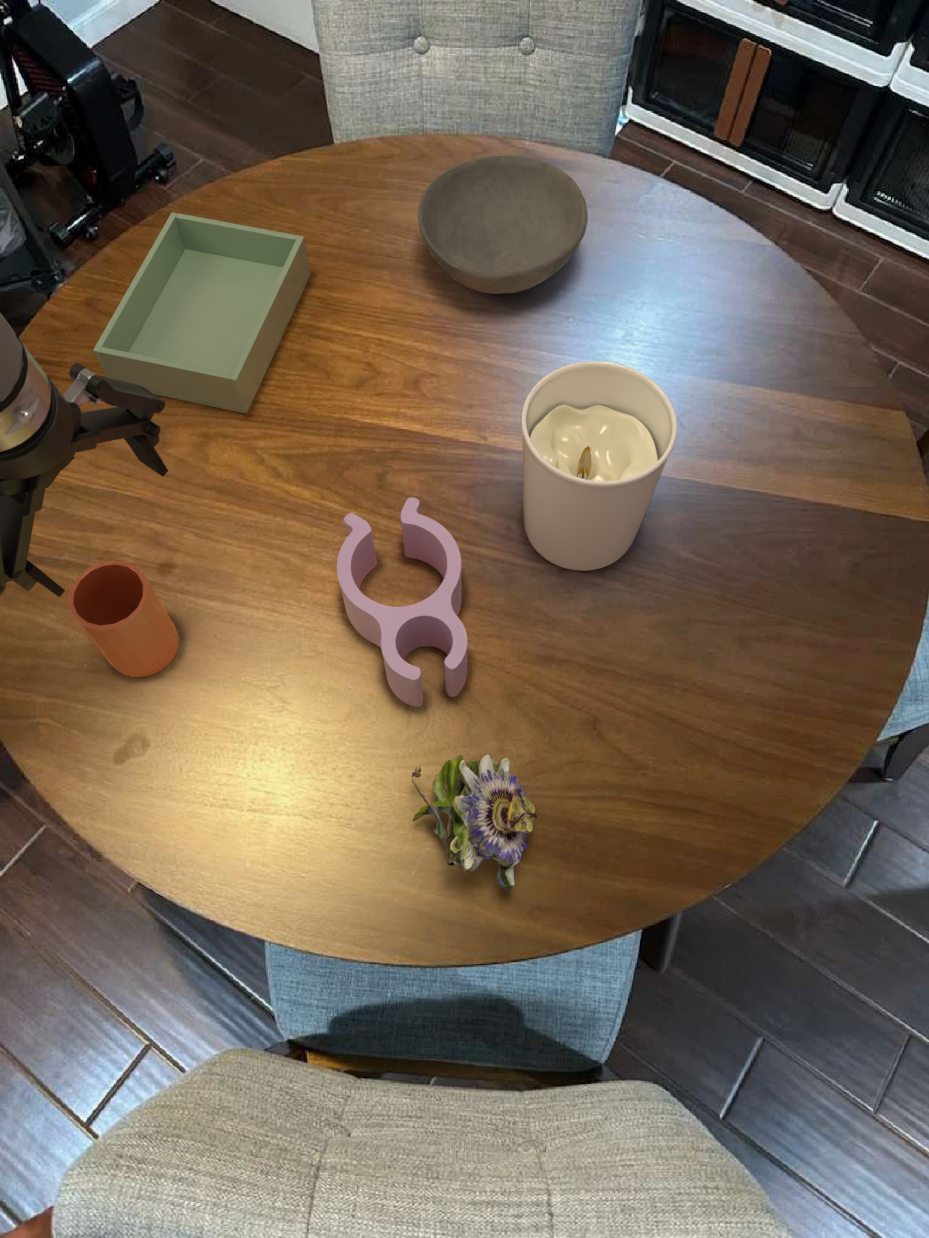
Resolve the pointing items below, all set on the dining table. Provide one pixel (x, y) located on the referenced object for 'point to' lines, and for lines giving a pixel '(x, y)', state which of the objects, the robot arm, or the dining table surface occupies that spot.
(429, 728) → the dining table surface
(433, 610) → the clip
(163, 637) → the cup
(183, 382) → the green tray
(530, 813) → the passion flower
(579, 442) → the candle holder
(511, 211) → the bowl
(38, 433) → the robot arm
